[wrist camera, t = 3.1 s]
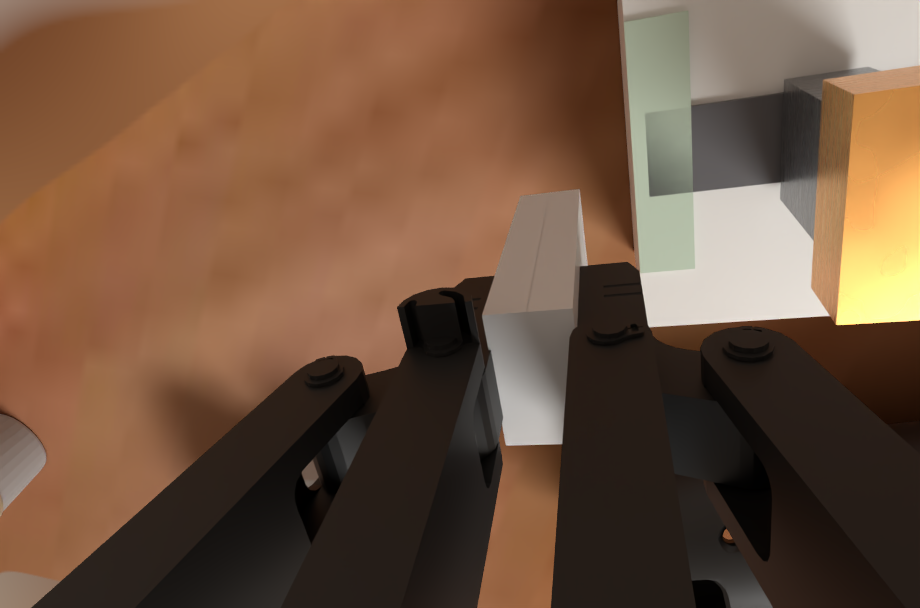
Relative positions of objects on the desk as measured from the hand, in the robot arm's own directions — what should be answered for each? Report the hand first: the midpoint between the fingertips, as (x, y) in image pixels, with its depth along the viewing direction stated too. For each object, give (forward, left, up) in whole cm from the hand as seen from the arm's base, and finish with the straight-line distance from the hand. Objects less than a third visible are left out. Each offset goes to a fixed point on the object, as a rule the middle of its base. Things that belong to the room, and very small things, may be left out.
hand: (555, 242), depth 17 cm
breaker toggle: (-8, 0, -7) cm, 11 cm away
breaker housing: (-8, 0, -16) cm, 18 cm away
